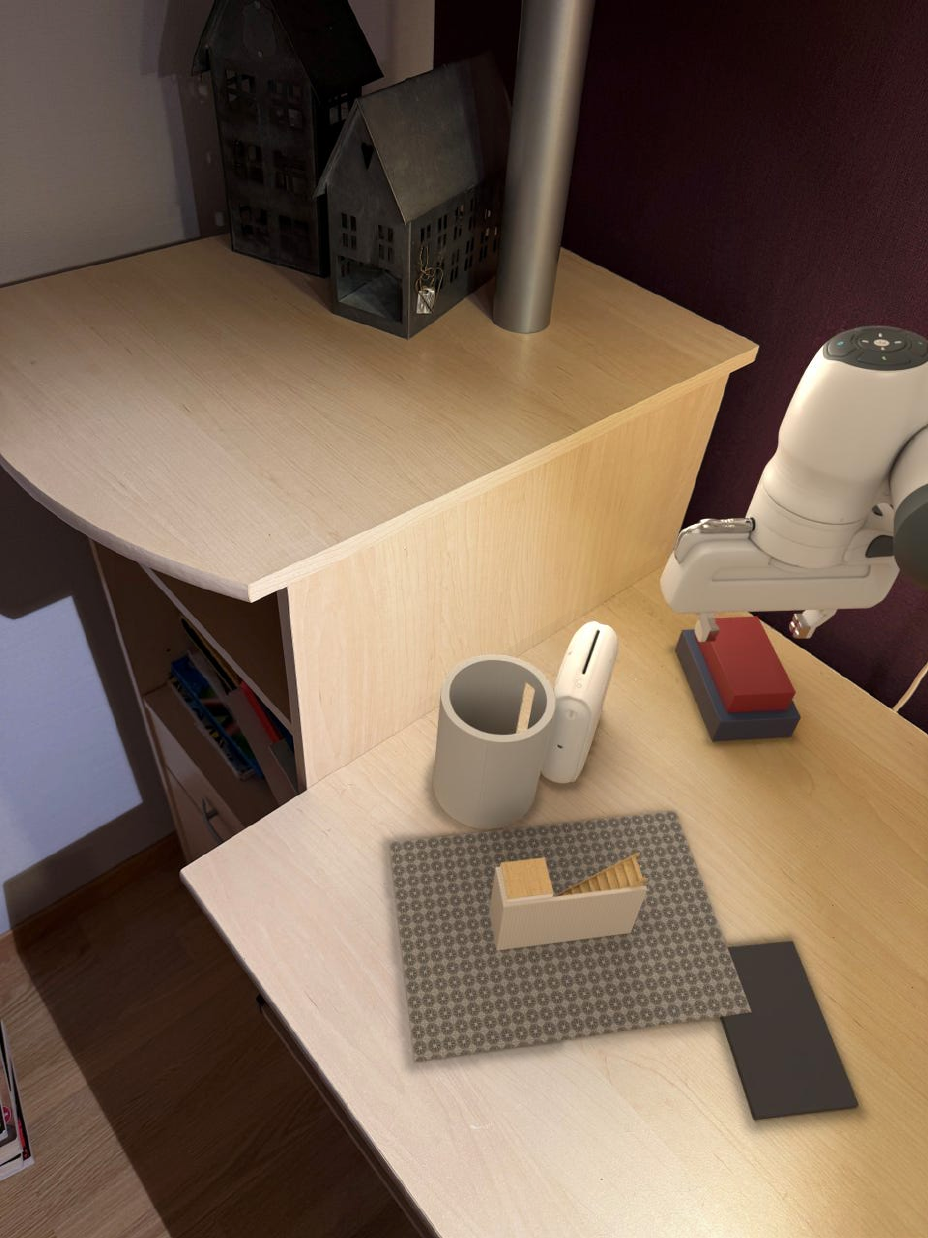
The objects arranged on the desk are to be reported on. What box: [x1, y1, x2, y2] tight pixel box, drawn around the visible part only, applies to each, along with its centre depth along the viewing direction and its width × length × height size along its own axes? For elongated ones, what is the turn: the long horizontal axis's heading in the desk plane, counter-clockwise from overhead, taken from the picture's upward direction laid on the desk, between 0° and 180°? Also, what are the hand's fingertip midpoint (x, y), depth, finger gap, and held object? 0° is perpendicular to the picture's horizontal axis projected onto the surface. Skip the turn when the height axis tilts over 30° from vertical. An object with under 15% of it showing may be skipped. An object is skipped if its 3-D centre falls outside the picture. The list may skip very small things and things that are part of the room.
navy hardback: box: [674, 628, 802, 743], centre depth 89 cm, size 12×8×3 cm, turn 7°
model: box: [488, 852, 649, 951], centre depth 68 cm, size 3×11×8 cm, turn 99°
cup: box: [432, 653, 555, 830], centre depth 76 cm, size 9×9×12 cm
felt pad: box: [719, 940, 860, 1121], centre depth 67 cm, size 8×12×1 cm, turn 7°
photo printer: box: [540, 620, 619, 784], centre depth 80 cm, size 10×4×12 cm, turn 160°
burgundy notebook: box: [695, 615, 797, 713], centre depth 87 cm, size 10×6×2 cm, turn 7°
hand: (751, 635), depth 85 cm, fingers open, 8 cm apart
